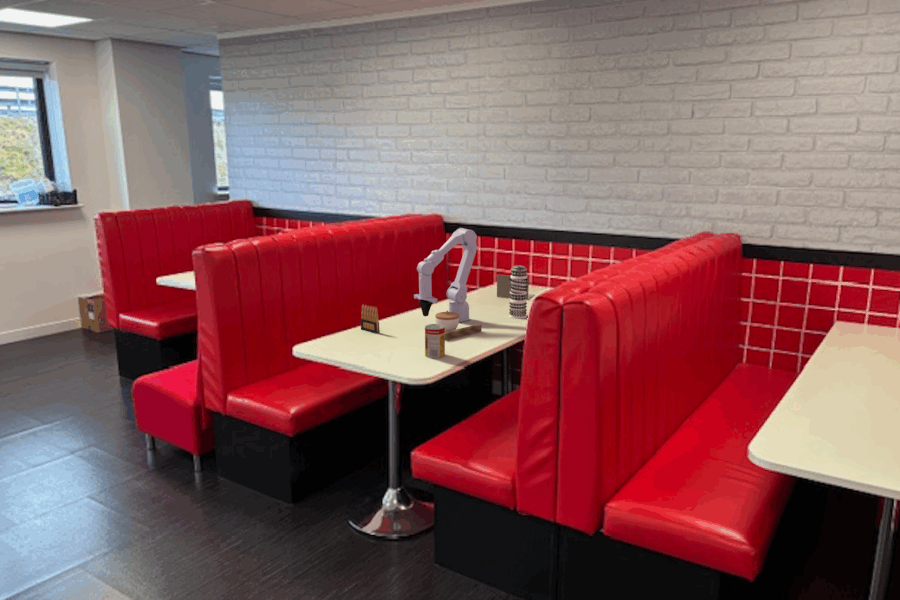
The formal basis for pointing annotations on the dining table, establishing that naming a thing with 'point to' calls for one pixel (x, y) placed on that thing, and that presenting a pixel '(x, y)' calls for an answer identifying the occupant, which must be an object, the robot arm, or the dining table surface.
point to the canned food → (434, 341)
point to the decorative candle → (518, 291)
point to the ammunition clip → (370, 319)
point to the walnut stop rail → (462, 332)
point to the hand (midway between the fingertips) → (425, 315)
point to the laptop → (507, 287)
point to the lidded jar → (448, 320)
